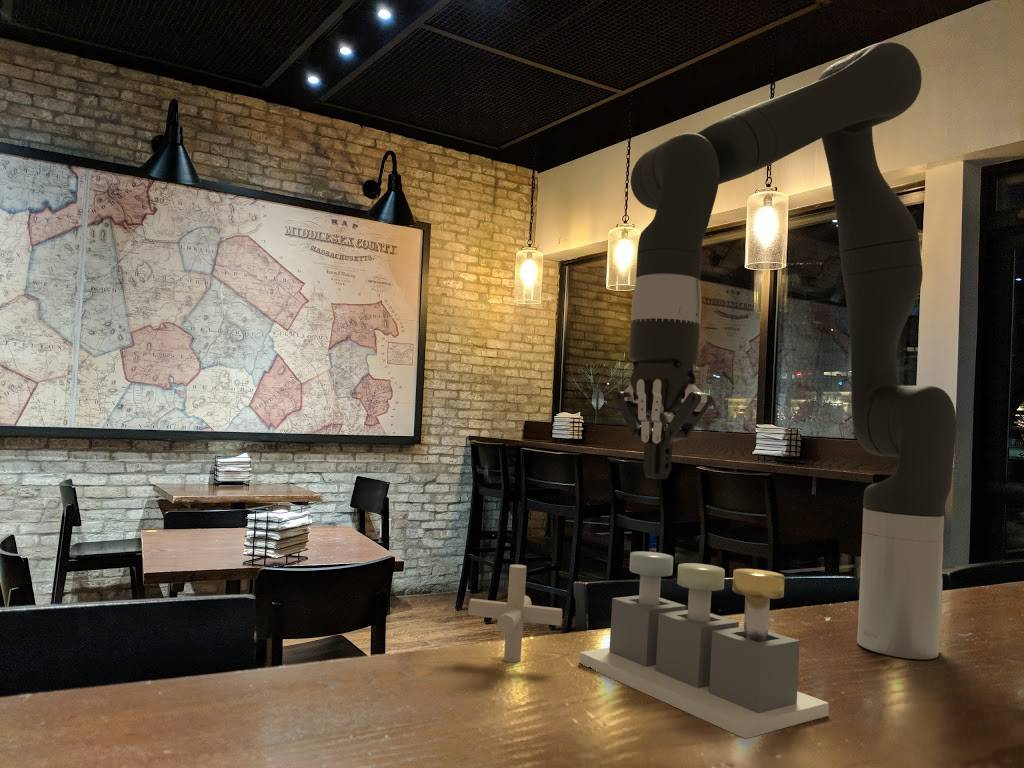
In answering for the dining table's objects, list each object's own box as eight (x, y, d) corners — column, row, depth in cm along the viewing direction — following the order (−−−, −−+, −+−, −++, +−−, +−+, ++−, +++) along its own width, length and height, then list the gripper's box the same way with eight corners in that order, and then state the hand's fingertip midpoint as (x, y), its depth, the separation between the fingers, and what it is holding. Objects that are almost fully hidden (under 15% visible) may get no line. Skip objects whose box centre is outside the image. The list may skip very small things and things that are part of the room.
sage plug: (695, 641, 83) (699, 562, 84) (730, 654, 79) (734, 570, 80) (664, 646, 81) (668, 564, 81) (698, 659, 77) (703, 573, 77)
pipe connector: (551, 680, 79) (557, 579, 80) (455, 667, 81) (461, 569, 82) (564, 652, 89) (569, 563, 90) (478, 641, 91) (484, 554, 92)
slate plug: (647, 625, 89) (651, 550, 89) (678, 635, 85) (682, 558, 86) (617, 629, 86) (621, 552, 87) (647, 640, 83) (651, 560, 83)
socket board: (658, 650, 92) (661, 590, 93) (828, 715, 74) (831, 640, 75) (579, 663, 85) (582, 597, 86) (745, 738, 67) (749, 655, 68)
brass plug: (750, 653, 78) (754, 567, 78) (790, 666, 74) (794, 577, 74) (718, 658, 75) (723, 570, 75) (759, 673, 71) (763, 580, 71)
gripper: (736, 321, 84) (727, 485, 83) (647, 327, 95) (638, 473, 94) (687, 311, 80) (677, 484, 79) (599, 320, 90) (590, 472, 90)
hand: (656, 477), depth 86 cm, fingers closed
